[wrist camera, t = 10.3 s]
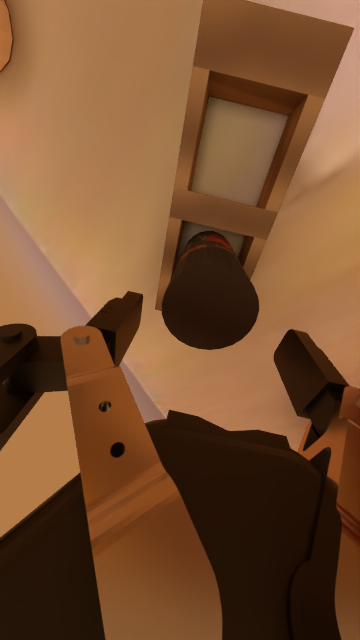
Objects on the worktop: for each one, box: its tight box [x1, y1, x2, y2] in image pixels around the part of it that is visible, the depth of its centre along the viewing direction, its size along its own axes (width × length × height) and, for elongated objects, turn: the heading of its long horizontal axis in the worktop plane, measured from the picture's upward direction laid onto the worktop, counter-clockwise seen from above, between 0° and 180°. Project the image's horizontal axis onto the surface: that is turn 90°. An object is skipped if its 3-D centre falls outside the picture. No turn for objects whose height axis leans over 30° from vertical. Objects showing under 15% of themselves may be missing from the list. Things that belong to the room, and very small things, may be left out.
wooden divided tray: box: [155, 0, 354, 311], centre depth 21 cm, size 24×10×4 cm, turn 168°
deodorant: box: [162, 231, 259, 350], centre depth 19 cm, size 6×6×15 cm
